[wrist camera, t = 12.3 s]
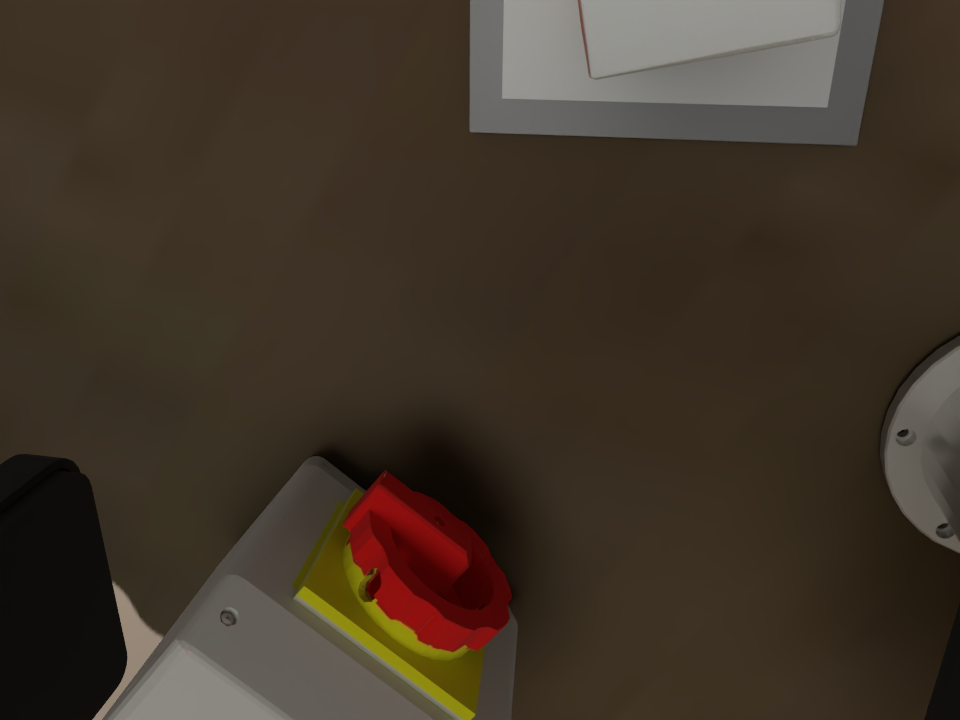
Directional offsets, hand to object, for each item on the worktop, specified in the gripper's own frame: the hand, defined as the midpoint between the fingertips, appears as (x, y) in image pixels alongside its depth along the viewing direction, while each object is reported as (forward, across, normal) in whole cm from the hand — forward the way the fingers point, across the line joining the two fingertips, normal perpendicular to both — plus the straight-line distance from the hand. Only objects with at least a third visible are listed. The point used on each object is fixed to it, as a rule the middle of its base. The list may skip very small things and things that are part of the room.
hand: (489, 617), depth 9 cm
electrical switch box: (+31, +10, +22) cm, 39 cm away
